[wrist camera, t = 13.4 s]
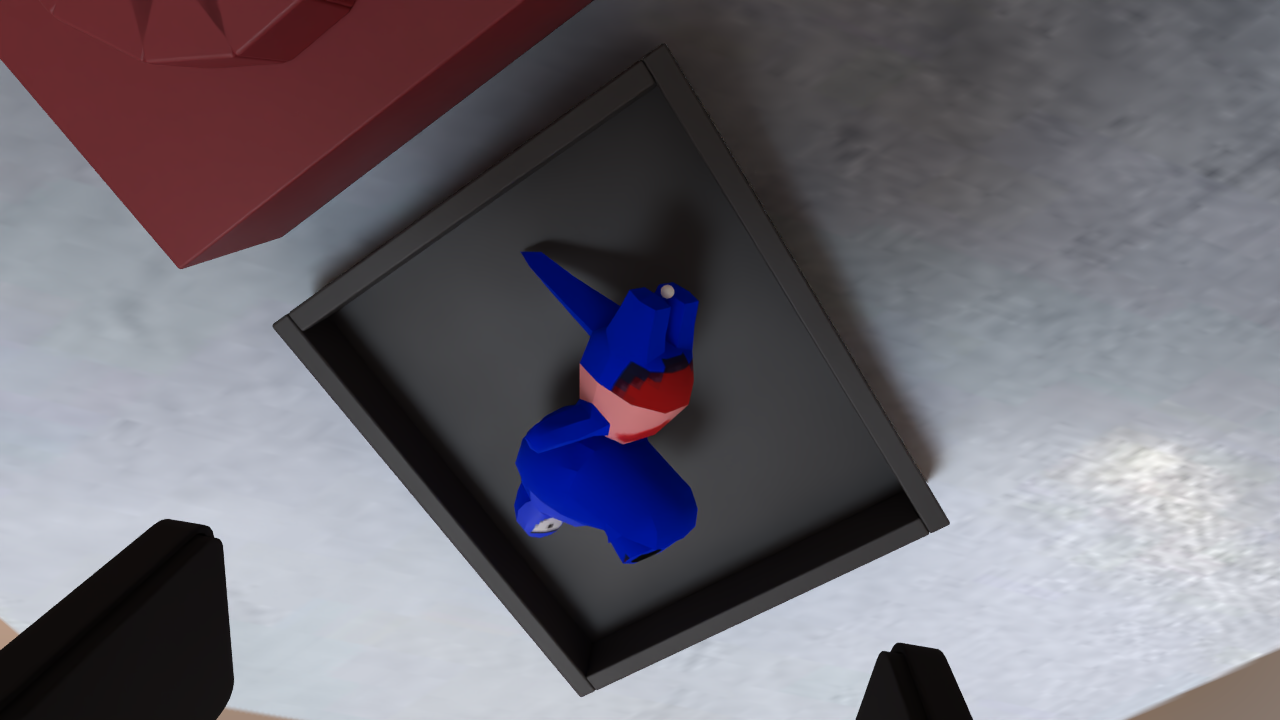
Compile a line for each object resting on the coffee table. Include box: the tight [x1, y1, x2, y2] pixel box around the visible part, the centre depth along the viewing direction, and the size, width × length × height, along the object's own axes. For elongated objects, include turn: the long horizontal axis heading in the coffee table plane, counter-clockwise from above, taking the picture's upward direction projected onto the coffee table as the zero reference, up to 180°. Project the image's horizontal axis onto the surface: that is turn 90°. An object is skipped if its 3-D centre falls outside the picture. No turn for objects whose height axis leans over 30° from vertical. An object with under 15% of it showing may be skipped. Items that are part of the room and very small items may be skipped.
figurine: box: [514, 252, 699, 564], centre depth 18 cm, size 5×8×5 cm
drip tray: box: [273, 44, 950, 697], centre depth 20 cm, size 12×14×2 cm
